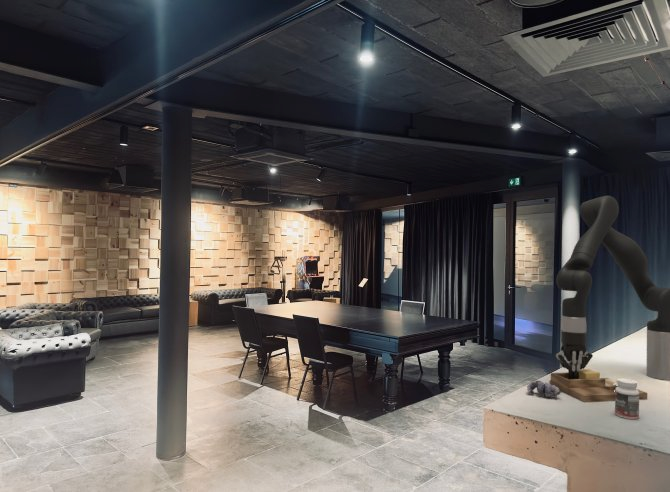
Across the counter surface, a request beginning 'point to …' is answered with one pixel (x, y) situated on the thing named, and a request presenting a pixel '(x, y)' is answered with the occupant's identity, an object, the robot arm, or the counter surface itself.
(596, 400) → the wooden compartment tray
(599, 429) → the counter surface
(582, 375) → the block
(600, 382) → the cubby
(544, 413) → the counter surface
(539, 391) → the seashell
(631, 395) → the pill bottle
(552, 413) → the counter surface
